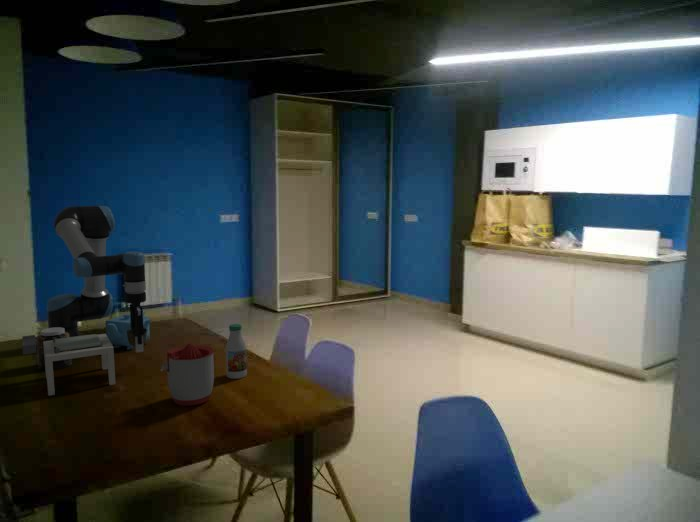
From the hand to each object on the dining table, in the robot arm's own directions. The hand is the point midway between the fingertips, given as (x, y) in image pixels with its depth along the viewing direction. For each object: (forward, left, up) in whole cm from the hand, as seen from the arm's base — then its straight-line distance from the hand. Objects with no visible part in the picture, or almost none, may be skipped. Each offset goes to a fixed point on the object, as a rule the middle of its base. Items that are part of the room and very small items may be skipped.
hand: (137, 349), depth 211 cm
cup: (0, 0, 0) cm, 1 cm away
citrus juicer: (+40, +9, -9) cm, 42 cm away
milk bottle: (+25, +31, -9) cm, 41 cm away
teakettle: (-38, +3, -9) cm, 39 cm away
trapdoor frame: (0, -21, -9) cm, 23 cm away
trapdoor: (0, -26, +5) cm, 27 cm away
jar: (-24, -28, -9) cm, 38 cm away
